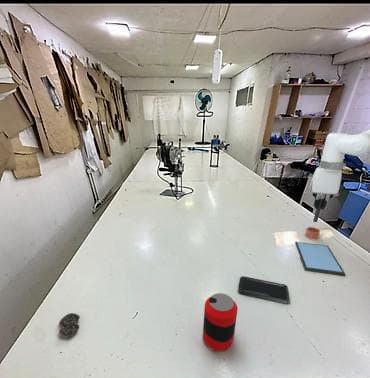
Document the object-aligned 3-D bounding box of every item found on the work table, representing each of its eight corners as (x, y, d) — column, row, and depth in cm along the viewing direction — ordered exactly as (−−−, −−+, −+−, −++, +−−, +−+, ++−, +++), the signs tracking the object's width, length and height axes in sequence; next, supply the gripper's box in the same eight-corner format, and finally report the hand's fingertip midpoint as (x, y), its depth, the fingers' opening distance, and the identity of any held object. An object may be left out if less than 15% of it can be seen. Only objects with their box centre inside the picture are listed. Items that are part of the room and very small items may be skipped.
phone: (240, 275, 80) (287, 284, 76) (240, 278, 81) (286, 287, 76) (237, 290, 73) (289, 301, 69) (237, 293, 74) (288, 304, 70)
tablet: (327, 247, 100) (327, 245, 100) (344, 276, 83) (345, 273, 82) (294, 243, 103) (295, 241, 103) (304, 270, 85) (305, 268, 85)
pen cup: (316, 235, 110) (318, 227, 109) (319, 241, 105) (321, 233, 104) (303, 234, 111) (305, 226, 110) (306, 239, 106) (308, 231, 105)
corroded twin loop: (58, 342, 57) (57, 339, 57) (60, 318, 64) (59, 315, 64) (80, 335, 59) (80, 332, 59) (80, 313, 66) (79, 310, 65)
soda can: (204, 324, 63) (206, 288, 58) (233, 328, 62) (237, 292, 57) (201, 349, 56) (203, 311, 51) (233, 354, 55) (238, 316, 50)
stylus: (316, 220, 106) (323, 195, 101) (317, 222, 104) (324, 196, 99) (312, 220, 106) (319, 195, 101) (313, 222, 104) (320, 196, 99)
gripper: (348, 165, 96) (335, 207, 104) (307, 162, 100) (297, 203, 107) (355, 168, 90) (341, 213, 97) (311, 166, 93) (301, 209, 101)
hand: (318, 207), depth 102 cm, fingers closed on stylus, 1 cm apart
